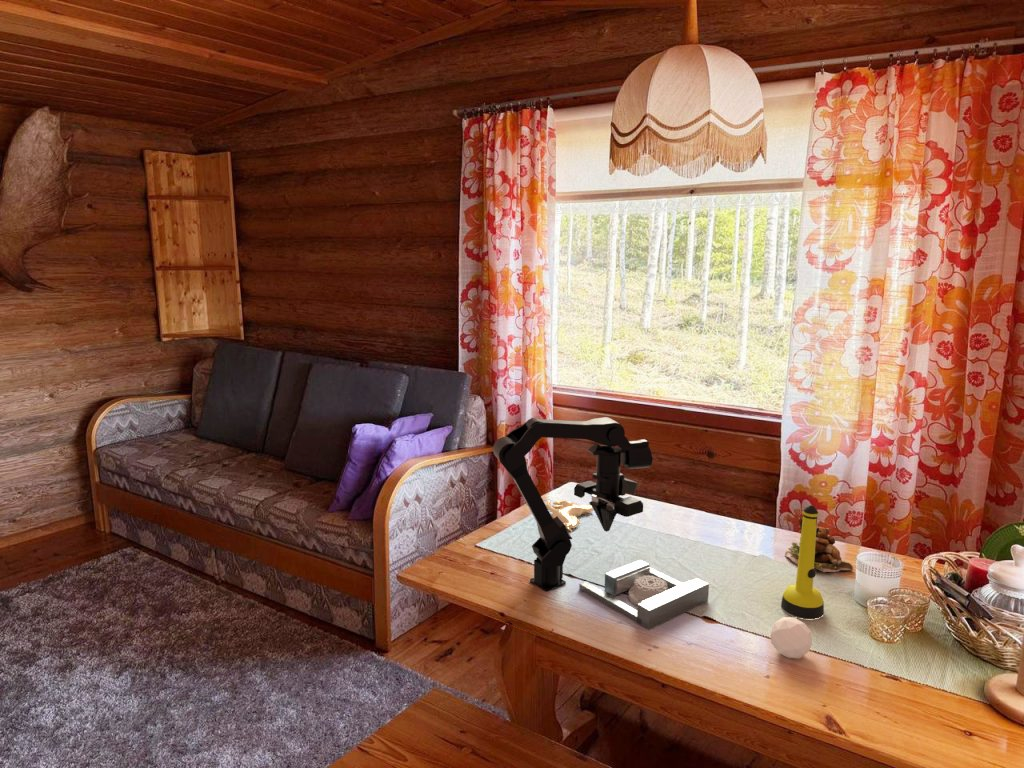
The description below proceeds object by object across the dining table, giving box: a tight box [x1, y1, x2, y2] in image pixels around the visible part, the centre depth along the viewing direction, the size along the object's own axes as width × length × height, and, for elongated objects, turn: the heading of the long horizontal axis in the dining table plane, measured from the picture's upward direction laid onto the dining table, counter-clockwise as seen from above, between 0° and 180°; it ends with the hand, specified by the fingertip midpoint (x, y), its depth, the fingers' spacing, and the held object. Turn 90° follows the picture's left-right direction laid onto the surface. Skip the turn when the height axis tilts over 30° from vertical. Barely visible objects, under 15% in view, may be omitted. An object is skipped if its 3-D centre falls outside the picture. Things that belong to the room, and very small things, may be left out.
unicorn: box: [545, 499, 594, 533], centre depth 205 cm, size 20×4×17 cm
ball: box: [770, 616, 813, 659], centre depth 135 cm, size 8×8×8 cm
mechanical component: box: [628, 575, 669, 607], centre depth 157 cm, size 10×4×10 cm
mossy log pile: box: [784, 517, 854, 573], centre depth 175 cm, size 14×15×12 cm
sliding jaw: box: [604, 559, 651, 597], centre depth 162 cm, size 12×4×5 cm, turn 127°
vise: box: [579, 567, 710, 631], centre depth 159 cm, size 20×22×4 cm
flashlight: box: [780, 504, 825, 619], centre depth 150 cm, size 25×9×9 cm
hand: (606, 530), depth 166 cm, fingers closed
